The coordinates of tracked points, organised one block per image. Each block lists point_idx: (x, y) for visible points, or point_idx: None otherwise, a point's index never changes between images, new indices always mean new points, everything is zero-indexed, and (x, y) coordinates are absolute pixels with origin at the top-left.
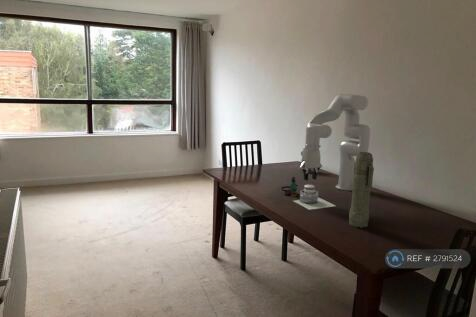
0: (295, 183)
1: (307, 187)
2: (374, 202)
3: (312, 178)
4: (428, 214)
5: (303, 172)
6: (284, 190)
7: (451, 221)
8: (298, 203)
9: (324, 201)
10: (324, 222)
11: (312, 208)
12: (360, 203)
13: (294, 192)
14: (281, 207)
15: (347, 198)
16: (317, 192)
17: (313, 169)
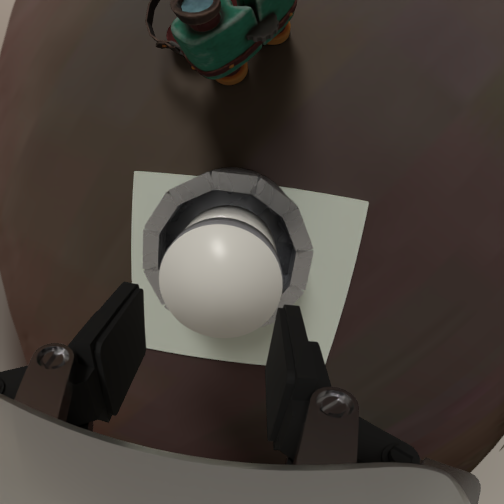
0: (222, 36)
1: (167, 305)
2: (492, 368)
3: (277, 316)
4: (462, 460)
5: (51, 347)
6: (148, 27)
7: None
8: (136, 238)
9: (333, 286)
10: (130, 436)
11: (164, 343)
12: None
13: (209, 78)
14: (32, 238)
15: (482, 288)
16: (282, 307)
17: (299, 439)
